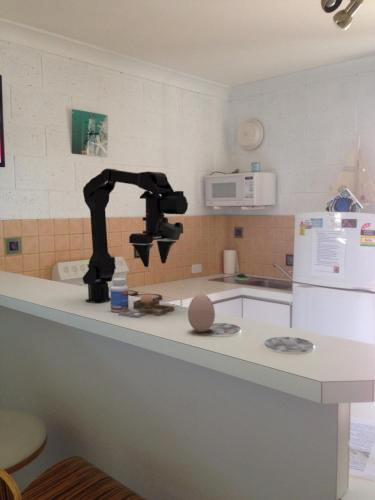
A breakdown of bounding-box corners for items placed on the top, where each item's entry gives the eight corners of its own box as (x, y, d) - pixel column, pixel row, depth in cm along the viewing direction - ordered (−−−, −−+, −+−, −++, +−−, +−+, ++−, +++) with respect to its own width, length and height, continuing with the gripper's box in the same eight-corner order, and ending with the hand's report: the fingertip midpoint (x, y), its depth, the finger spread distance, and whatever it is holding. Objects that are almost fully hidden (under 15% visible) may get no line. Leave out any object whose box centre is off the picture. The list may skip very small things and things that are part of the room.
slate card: (118, 315, 136) (118, 313, 136) (128, 311, 140) (128, 310, 140) (137, 317, 132) (137, 316, 132) (147, 314, 137) (147, 312, 137)
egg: (215, 335, 113) (215, 296, 112) (187, 335, 113) (187, 296, 113) (214, 328, 120) (214, 291, 119) (188, 328, 120) (187, 291, 119)
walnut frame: (133, 308, 144) (133, 301, 144) (144, 305, 149) (144, 298, 149) (148, 310, 141) (148, 303, 141) (159, 306, 146) (159, 299, 146)
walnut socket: (138, 312, 138) (138, 308, 138) (153, 307, 145) (153, 304, 145) (159, 315, 134) (159, 311, 134) (174, 310, 141) (174, 306, 141)
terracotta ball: (137, 308, 145) (137, 295, 144) (145, 305, 148) (145, 293, 148) (147, 309, 143) (147, 296, 142) (155, 307, 146) (155, 294, 146)
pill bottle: (125, 312, 139) (124, 280, 138) (108, 312, 140) (107, 280, 139) (131, 308, 144) (130, 277, 143) (114, 308, 145) (113, 277, 144)
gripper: (159, 215, 128) (160, 271, 129) (193, 213, 144) (193, 263, 145) (127, 214, 133) (128, 268, 135) (163, 213, 149) (163, 261, 151)
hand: (155, 265), depth 141 cm, fingers open, 9 cm apart
